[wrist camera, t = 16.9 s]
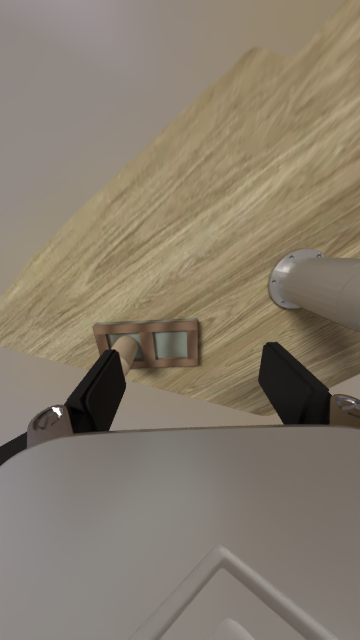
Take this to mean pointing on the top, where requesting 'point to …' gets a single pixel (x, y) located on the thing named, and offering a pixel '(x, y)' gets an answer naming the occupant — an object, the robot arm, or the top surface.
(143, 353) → the divided tray
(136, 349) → the candle
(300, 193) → the top surface
